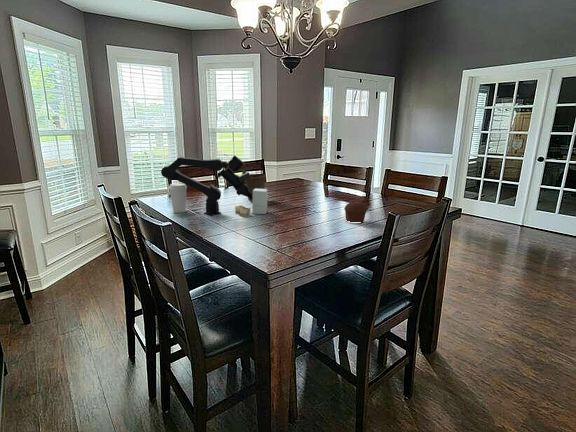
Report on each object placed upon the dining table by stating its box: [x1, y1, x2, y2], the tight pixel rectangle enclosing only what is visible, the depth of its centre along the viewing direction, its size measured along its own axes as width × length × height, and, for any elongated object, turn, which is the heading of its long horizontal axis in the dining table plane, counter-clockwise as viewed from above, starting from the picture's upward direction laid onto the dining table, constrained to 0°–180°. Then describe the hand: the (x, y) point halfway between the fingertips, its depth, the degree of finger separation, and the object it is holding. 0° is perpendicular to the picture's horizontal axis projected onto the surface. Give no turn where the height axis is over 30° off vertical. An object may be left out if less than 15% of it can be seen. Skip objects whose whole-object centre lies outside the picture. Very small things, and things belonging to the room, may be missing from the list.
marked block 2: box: [239, 207, 251, 218], centre depth 179 cm, size 4×4×4 cm
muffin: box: [344, 201, 369, 223], centre depth 171 cm, size 12×11×10 cm
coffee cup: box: [168, 182, 188, 214], centre depth 185 cm, size 10×10×15 cm
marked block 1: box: [234, 205, 246, 216], centre depth 184 cm, size 4×4×4 cm
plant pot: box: [244, 173, 267, 202], centre depth 215 cm, size 15×15×16 cm
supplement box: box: [251, 188, 269, 215], centre depth 185 cm, size 7×7×13 cm
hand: (252, 197), depth 184 cm, fingers closed
